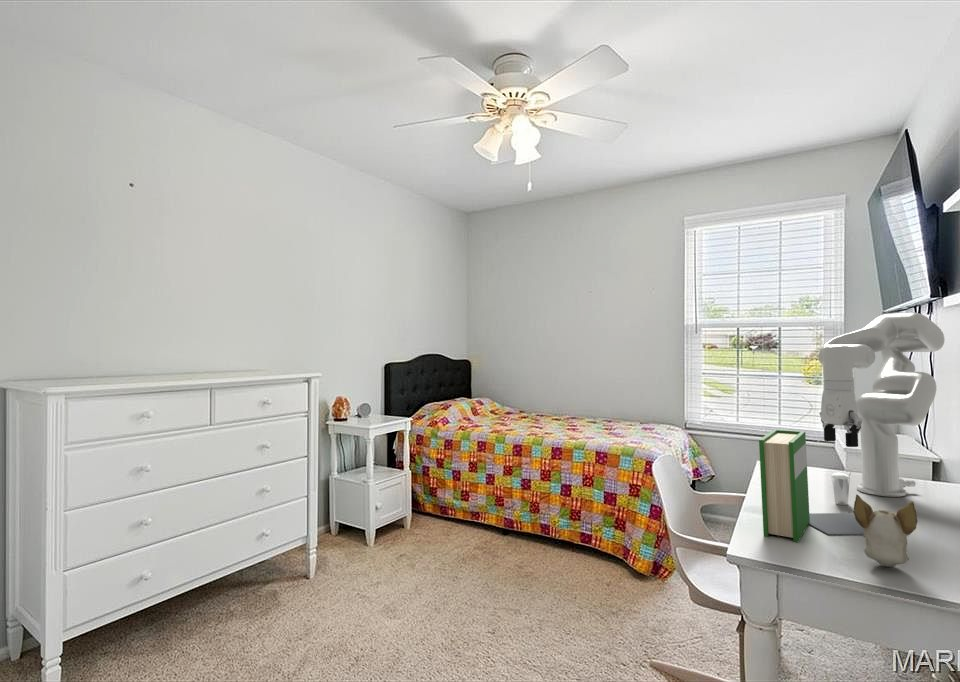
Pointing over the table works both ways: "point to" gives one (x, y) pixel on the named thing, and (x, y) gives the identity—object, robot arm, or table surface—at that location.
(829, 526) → the mouse pad
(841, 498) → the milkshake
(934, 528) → the table surface
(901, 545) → the ceramic sculpture
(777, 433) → the hardback book
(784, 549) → the table surface
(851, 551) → the table surface
